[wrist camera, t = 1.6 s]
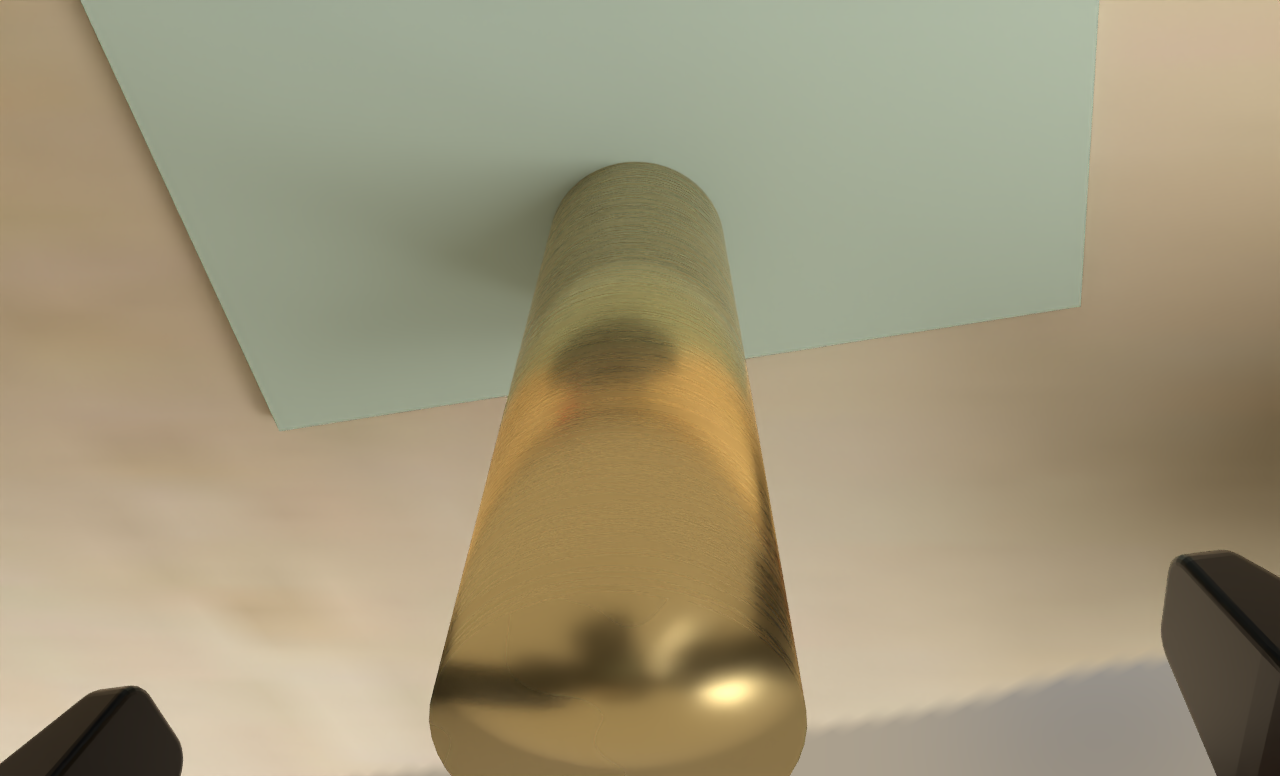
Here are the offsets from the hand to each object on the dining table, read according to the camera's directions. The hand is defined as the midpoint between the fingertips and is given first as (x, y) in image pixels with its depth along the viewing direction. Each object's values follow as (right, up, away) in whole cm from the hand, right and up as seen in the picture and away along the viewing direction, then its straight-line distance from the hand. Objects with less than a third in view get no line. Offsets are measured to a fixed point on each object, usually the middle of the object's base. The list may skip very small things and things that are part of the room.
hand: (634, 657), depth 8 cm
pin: (0, +5, +8) cm, 9 cm away
